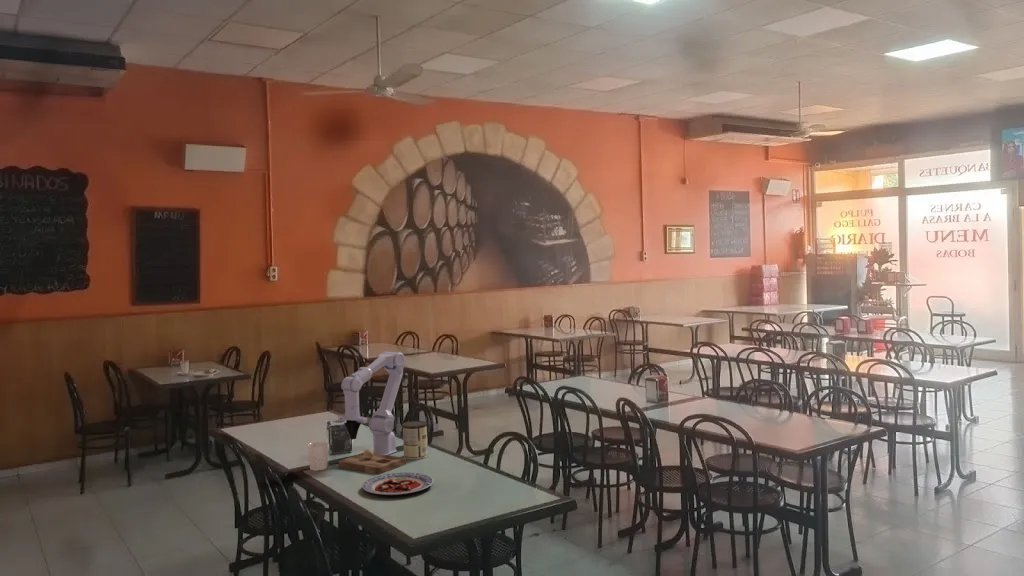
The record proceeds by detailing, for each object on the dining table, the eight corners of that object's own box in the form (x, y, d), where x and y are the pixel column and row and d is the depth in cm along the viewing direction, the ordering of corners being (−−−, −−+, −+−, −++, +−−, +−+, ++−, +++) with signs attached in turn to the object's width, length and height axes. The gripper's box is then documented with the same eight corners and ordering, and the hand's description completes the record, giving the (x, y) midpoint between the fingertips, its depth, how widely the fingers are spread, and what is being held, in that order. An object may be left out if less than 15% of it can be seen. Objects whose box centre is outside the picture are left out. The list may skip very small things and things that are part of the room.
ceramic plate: (420, 501, 262) (420, 492, 262) (350, 498, 267) (350, 490, 267) (442, 479, 287) (442, 471, 287) (378, 477, 292) (377, 469, 292)
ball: (368, 457, 311) (367, 447, 311) (375, 458, 309) (375, 448, 309) (361, 459, 308) (361, 449, 308) (368, 460, 306) (368, 450, 306)
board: (365, 457, 320) (365, 451, 320) (406, 464, 309) (406, 457, 308) (338, 467, 307) (338, 461, 307) (379, 474, 295) (379, 467, 295)
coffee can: (406, 453, 326) (405, 420, 325) (430, 453, 325) (429, 420, 324) (400, 459, 315) (399, 426, 315) (425, 459, 314) (423, 426, 314)
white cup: (325, 471, 302) (324, 446, 301) (306, 471, 302) (305, 446, 301) (330, 465, 309) (330, 441, 309) (311, 466, 310) (310, 441, 309)
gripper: (332, 406, 312) (333, 439, 313) (358, 409, 305) (359, 442, 305) (344, 403, 318) (345, 435, 319) (370, 406, 311) (371, 439, 311)
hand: (353, 438), depth 312 cm, fingers closed
